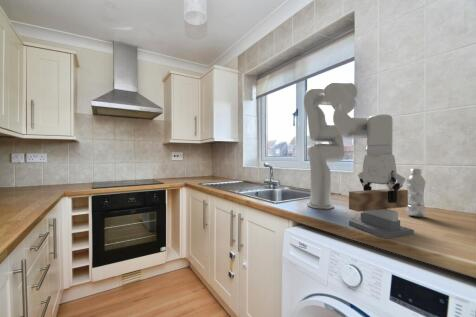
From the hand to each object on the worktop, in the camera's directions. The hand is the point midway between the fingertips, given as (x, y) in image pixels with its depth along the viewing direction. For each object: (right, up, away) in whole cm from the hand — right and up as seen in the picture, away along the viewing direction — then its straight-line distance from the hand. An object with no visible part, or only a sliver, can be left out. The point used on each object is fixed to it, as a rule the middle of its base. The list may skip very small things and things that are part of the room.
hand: (379, 199), depth 79 cm
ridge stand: (0, -10, 0) cm, 10 cm away
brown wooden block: (0, -3, 0) cm, 3 cm away
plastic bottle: (+25, -10, +16) cm, 32 cm away
